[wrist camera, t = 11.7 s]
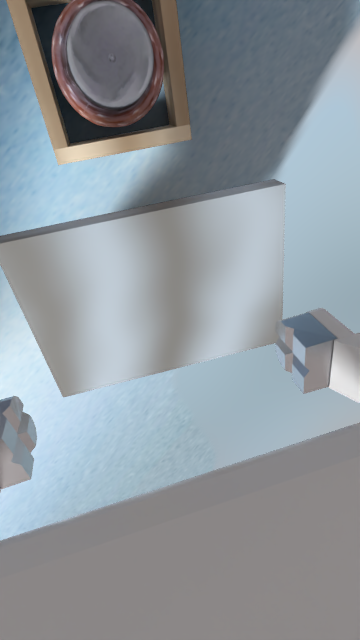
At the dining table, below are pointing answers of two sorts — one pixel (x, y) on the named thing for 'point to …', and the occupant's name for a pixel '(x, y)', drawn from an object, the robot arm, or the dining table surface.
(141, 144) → the socket
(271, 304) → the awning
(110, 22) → the supplement bottle
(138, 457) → the dining table surface
